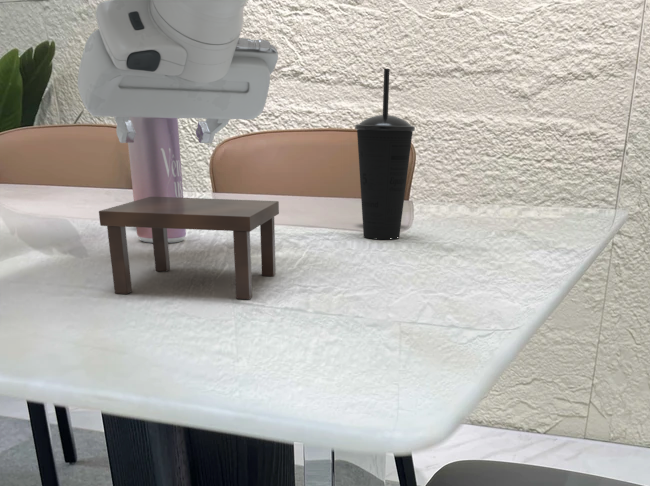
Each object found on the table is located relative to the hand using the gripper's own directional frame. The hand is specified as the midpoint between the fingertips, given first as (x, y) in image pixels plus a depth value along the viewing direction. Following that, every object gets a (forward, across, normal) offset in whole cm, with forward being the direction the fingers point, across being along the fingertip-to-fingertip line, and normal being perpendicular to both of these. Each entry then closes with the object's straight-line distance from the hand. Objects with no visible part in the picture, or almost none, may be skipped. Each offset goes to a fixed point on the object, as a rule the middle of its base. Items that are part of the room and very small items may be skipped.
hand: (165, 138), depth 89 cm
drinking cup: (+5, -27, +12) cm, 30 cm away
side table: (-8, +6, +25) cm, 27 cm away
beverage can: (+11, 0, +6) cm, 13 cm away
